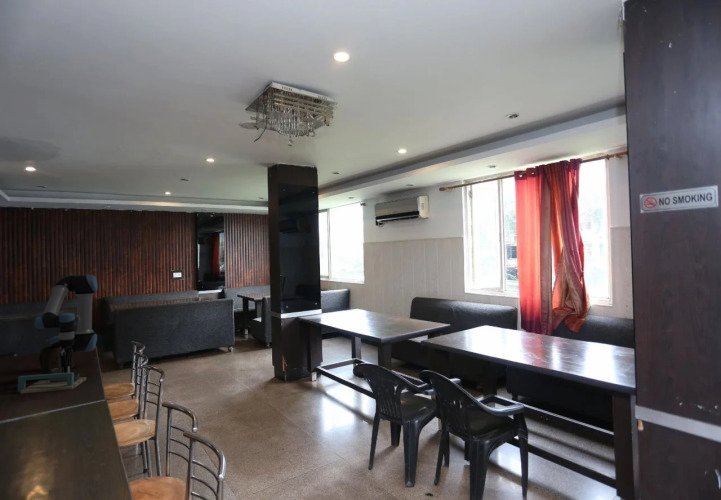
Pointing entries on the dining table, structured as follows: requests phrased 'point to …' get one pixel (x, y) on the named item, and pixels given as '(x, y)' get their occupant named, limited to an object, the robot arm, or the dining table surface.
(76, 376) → the swing link
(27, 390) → the pivot plate
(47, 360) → the beer stein
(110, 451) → the dining table surface
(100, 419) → the dining table surface
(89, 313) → the robot arm
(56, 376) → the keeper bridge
